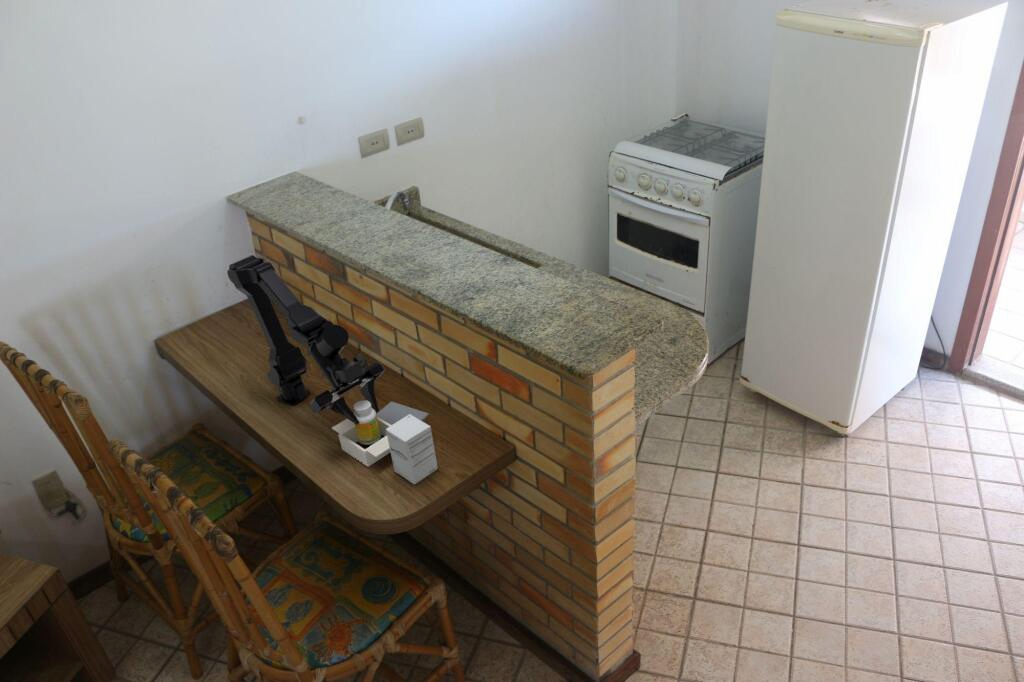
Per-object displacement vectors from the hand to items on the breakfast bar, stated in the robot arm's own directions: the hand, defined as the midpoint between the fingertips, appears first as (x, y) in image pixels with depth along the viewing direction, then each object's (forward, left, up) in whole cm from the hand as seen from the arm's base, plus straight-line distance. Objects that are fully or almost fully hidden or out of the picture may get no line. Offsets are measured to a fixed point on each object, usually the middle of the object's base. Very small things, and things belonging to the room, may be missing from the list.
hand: (368, 418), depth 194 cm
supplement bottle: (-1, 0, -7) cm, 7 cm away
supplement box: (+14, -2, -10) cm, 17 cm away
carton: (-1, 0, -9) cm, 9 cm away
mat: (-2, +12, -9) cm, 16 cm away
